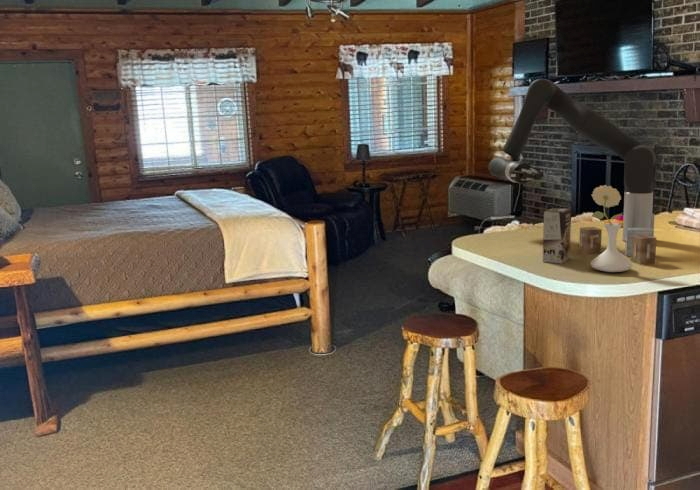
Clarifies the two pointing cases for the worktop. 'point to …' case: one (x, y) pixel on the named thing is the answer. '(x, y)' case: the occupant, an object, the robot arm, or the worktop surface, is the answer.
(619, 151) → the robot arm
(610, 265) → the flower in vase
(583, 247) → the walnut block seven
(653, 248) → the walnut block one
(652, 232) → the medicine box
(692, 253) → the worktop surface
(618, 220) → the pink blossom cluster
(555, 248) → the coffee box
